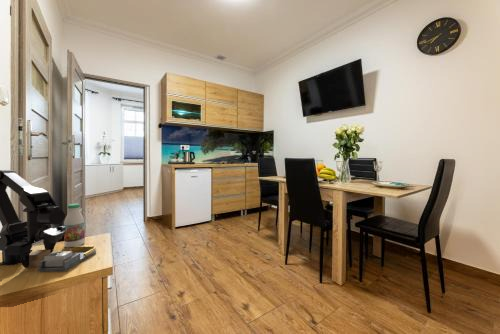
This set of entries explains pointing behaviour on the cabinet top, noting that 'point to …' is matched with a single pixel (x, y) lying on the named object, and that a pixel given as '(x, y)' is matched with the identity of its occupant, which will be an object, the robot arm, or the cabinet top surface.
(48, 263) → the light grey block
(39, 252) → the housing
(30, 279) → the cabinet top surface
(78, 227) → the milk bottle
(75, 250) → the grey tray
